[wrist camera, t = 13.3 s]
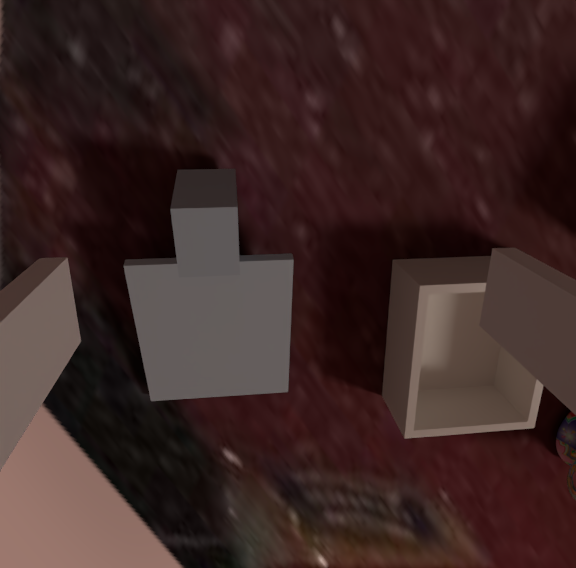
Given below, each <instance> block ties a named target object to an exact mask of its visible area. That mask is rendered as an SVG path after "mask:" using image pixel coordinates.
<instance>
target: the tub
mask: <svg viewBox="0 0 576 568" xmlns="http://www.w3.org/2000/svg"><path fill="white" fill-rule="evenodd" d="M490 260H491V256H473V257H447V258H421V259H395V260H393V262H392V275H391V287H390V300H389V313H388V325H387V338H386V351H385V363H384V376H383V389H382V397H383V399H384V401H385V402H386V404H387V406H388V408H389V410H390V412H391V414H392V416H393V418H394V420H395V422H396V423H397V425H398V427H399V429H400V431H401V433H402V435H403V437H404V439H405V438H417V437H430V436H442V435H455V434H467V433H480V432H492V431H505V430H517V429H530V428H534V427H535V423H536V418H537V413H538V409H539V404H540V399H541V395H542V390H543V386H544V385H543V384H542V383H541V382H539V381H538V380H537V379H536V378H535V377H534V376H533V375H532V374H531V373H530V372H529V371H528V370H527V369H525V368H524V367H523V366H522V365H521V364H520V363H519V362H518V361H517V360H516V359H515V358H514V357H513V356H511V355H510V354H509V353H508V352H507V351H506V350H505V349H504V348H503V347H502V346H501V345H500V344H499V343H497V342H496V341H495V340H494V339H493V338H492V337H491V336H490V335H489V334H488V333H487V332H486V331H485V330H483V329H482V328H481V327H480V326H479V324H480V318H481V312H482V307H483V301H484V295H485V289H486V283H487V277H488V271H489V266H490Z"/></svg>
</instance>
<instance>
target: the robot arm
mask: <svg viewBox="0 0 576 568" xmlns="http://www.w3.org/2000/svg"><path fill="white" fill-rule="evenodd" d="M479 326H480V327H481V328H482V329H483V330H485V331H486V332H487V333H488V334H489V335H490V336H491V337H492V338H493V339H494V340H495V341H496V342H497V343H499V344H500V345H501V346H502V347H503V348H504V349H505V350H506V351H507V352H508V353H509V354H510V355H511V356H513V357H514V358H515V359H516V360H517V361H518V362H519V363H520V364H521V365H522V366H523V367H524V368H525V369H527V370H528V371H529V372H530V373H531V374H532V375H533V376H534V377H535V378H536V379H537V380H538V381H539V382H541V383H542V384H543V385H544V386H545V387H546V388H547V389H548V390H549V391H550V392H551V393H552V394H553V395H555V396H556V397H557V398H558V399H559V400H560V401H561V402H562V403H563V404H564V405H565V406H566V407H567V408H569V409H570V410H571V411H572V412H573V413H574V414H575V415H576V280H574V279H572V278H571V277H569V276H567V275H565V274H563V273H561V272H559V271H557V270H556V269H554V268H552V267H550V266H548V265H546V264H544V263H543V262H541V261H539V260H537V259H535V258H533V257H531V256H529V255H528V254H526V253H524V252H522V251H520V250H518V249H516V248H492V254H491V260H490V266H489V271H488V277H487V283H486V289H485V295H484V301H483V307H482V312H481V318H480V324H479ZM80 342H81V338H80V332H79V326H78V320H77V314H76V308H75V302H74V295H73V289H72V283H71V277H70V271H69V265H68V259H67V258H40V259H38V260H37V261H36V262H35V263H34V264H32V265H31V266H30V267H29V268H28V269H26V270H25V271H24V272H23V273H22V274H21V275H19V276H18V277H17V278H16V279H15V280H13V281H12V282H11V283H10V284H9V285H7V286H6V287H5V288H4V289H3V290H1V291H0V470H1V469H2V467H3V466H4V464H5V462H6V461H7V459H8V458H9V456H10V454H11V452H12V451H13V450H14V448H15V446H16V445H17V443H18V441H19V440H20V438H21V437H22V435H23V433H24V432H25V430H26V428H27V427H28V425H29V424H30V422H31V421H32V419H33V417H34V416H35V414H36V413H37V411H38V409H39V408H40V406H41V405H42V403H43V401H44V400H45V398H46V396H47V395H48V393H49V392H50V390H51V388H52V387H53V385H54V384H55V382H56V380H57V379H58V377H59V376H60V374H61V372H62V371H63V369H64V368H65V366H66V364H67V363H68V361H69V360H70V358H71V356H72V355H73V353H74V351H75V350H76V348H77V347H78V345H79V343H80Z"/></svg>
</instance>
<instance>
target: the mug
mask: <svg viewBox="0 0 576 568" xmlns="http://www.w3.org/2000/svg"><path fill="white" fill-rule="evenodd" d="M556 448H557V452H558V454H559V456H560V457H561V459H562V460H563V461H564V462H565V463H567V464H568V465H570V466H571V467H570V469H569V472H568V476H567V485H568V489H569V492H570V494H571V495H572V497H573V498H574V499H575V500H576V489H575V487H574V485H573V474H574V472H575V470H576V415H575V414H574V413H573V412H572V411H571V412H570V413H569V414H568V415H567V416H566V417H565V419H564V420H563V421H562V423H561V425H560V427H559V429H558V432H557V435H556Z"/></svg>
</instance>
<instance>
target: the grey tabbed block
mask: <svg viewBox="0 0 576 568" xmlns="http://www.w3.org/2000/svg"><path fill="white" fill-rule="evenodd" d="M170 211H171V219H172V226H173V234H174V242H175V250H176V258H155V259H127V260H125V262H124V271H125V276H126V281H127V286H128V291H129V296H130V301H131V306H132V310H133V315H134V320H135V325H136V330H137V335H138V340H139V345H140V350H141V355H142V360H143V365H144V370H145V374H146V379H147V384H148V389H149V394H150V399H151V401H160V400H175V399H190V398H205V397H220V396H235V395H250V394H264V393H279V392H288V379H289V355H290V331H291V307H292V284H293V255H292V254H267V255H239V234H238V206H237V190H236V174H235V169H193V170H177V175H176V181H175V186H174V191H173V197H172V202H171V208H170Z"/></svg>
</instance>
